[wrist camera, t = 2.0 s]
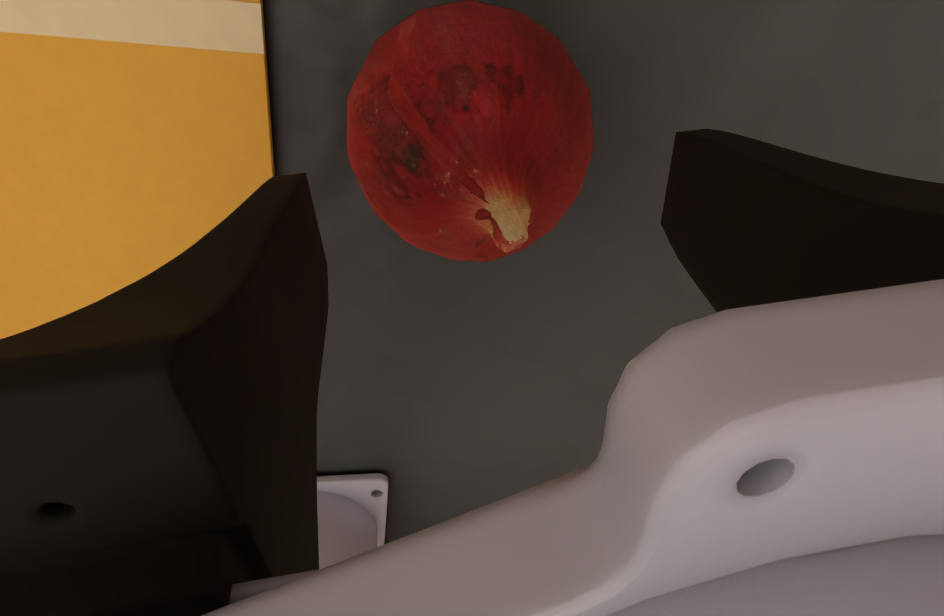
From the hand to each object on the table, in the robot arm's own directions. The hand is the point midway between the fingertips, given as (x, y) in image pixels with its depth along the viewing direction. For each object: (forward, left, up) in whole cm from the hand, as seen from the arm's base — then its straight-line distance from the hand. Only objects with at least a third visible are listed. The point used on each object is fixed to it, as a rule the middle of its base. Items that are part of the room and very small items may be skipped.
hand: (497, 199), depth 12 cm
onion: (0, 0, -7) cm, 7 cm away
